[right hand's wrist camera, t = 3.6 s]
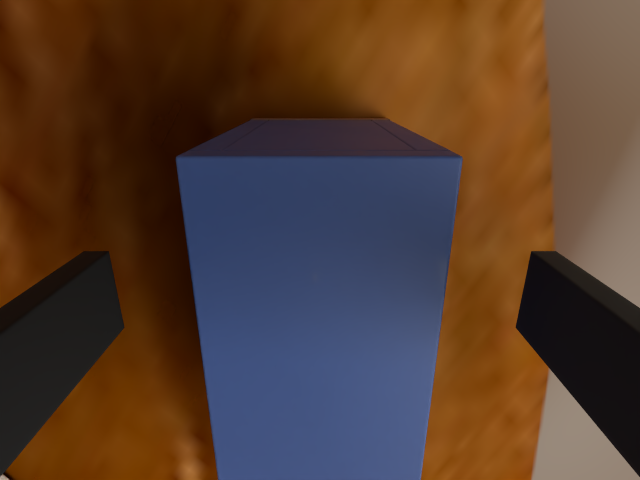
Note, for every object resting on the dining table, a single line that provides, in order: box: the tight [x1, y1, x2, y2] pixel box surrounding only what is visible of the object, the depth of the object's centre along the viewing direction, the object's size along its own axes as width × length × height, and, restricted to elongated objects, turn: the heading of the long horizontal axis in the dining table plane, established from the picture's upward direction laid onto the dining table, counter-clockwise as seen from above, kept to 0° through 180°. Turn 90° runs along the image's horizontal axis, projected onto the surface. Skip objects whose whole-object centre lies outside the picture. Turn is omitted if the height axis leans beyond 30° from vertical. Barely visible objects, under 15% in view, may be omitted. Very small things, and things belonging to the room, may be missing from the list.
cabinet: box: [176, 118, 462, 480], centre depth 17 cm, size 17×7×11 cm, turn 0°
